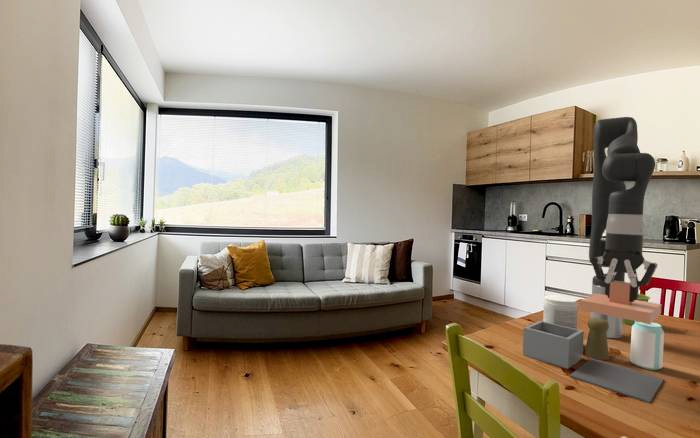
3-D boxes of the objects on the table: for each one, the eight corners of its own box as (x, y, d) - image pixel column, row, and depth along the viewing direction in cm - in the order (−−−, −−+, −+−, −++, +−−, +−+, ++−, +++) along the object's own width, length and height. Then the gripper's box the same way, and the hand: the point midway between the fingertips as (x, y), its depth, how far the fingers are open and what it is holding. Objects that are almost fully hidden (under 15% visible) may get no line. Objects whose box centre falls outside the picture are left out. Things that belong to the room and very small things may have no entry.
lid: (596, 302, 102) (597, 275, 102) (660, 313, 92) (662, 284, 92) (580, 309, 93) (581, 280, 93) (649, 323, 82) (651, 291, 82)
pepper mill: (579, 351, 111) (581, 315, 110) (598, 351, 111) (600, 316, 111) (594, 359, 105) (596, 322, 104) (614, 359, 105) (616, 322, 105)
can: (623, 359, 105) (625, 319, 105) (648, 361, 105) (650, 320, 105) (642, 370, 98) (644, 326, 98) (669, 371, 98) (671, 327, 98)
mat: (591, 359, 105) (591, 358, 105) (663, 380, 93) (663, 378, 93) (569, 376, 93) (569, 375, 93) (649, 403, 81) (649, 401, 81)
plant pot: (611, 316, 151) (612, 290, 151) (647, 322, 144) (649, 294, 144) (611, 323, 142) (612, 294, 142) (650, 330, 135) (651, 300, 135)
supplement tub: (582, 345, 116) (584, 299, 116) (567, 351, 111) (569, 303, 111) (551, 336, 124) (553, 293, 124) (536, 340, 119) (538, 296, 119)
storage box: (539, 345, 114) (540, 320, 114) (582, 358, 105) (583, 330, 105) (522, 354, 107) (523, 327, 106) (567, 368, 98) (569, 339, 97)
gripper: (663, 234, 89) (659, 303, 89) (596, 230, 100) (592, 292, 100) (657, 234, 84) (653, 308, 84) (587, 230, 95) (584, 295, 95)
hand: (620, 299), depth 92 cm, fingers closed on lid, 4 cm apart
